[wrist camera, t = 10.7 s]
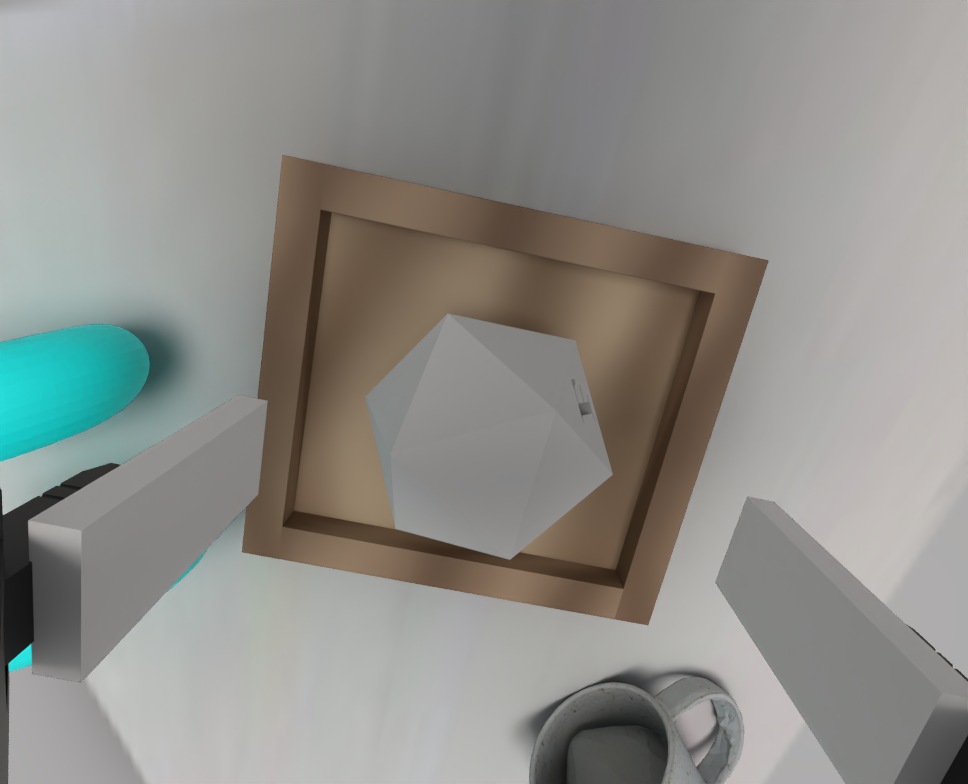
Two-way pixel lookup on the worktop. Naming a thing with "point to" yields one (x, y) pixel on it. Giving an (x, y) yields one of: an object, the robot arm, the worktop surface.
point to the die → (486, 435)
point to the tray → (501, 300)
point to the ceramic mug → (634, 737)
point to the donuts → (66, 391)
